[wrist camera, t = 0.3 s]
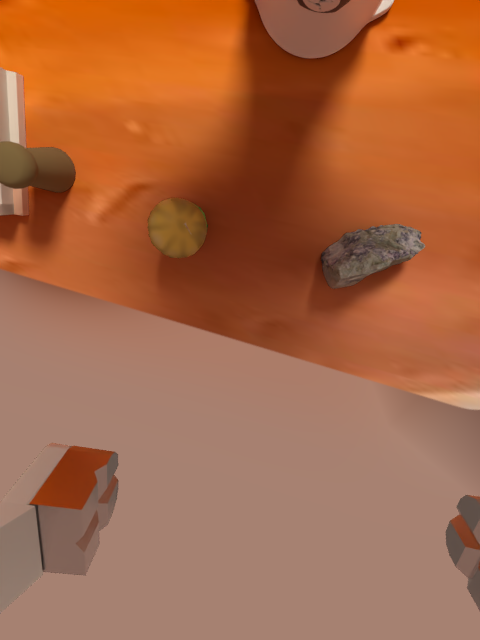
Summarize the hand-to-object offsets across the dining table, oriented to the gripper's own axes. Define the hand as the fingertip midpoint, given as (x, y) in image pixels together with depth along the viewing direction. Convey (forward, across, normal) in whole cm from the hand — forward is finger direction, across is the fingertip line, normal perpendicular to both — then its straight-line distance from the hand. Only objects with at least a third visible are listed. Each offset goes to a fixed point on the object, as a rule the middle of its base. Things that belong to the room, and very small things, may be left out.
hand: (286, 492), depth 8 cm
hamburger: (+47, +11, -1) cm, 48 cm away
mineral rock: (+47, -16, 0) cm, 50 cm away
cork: (+47, +30, -6) cm, 56 cm away
